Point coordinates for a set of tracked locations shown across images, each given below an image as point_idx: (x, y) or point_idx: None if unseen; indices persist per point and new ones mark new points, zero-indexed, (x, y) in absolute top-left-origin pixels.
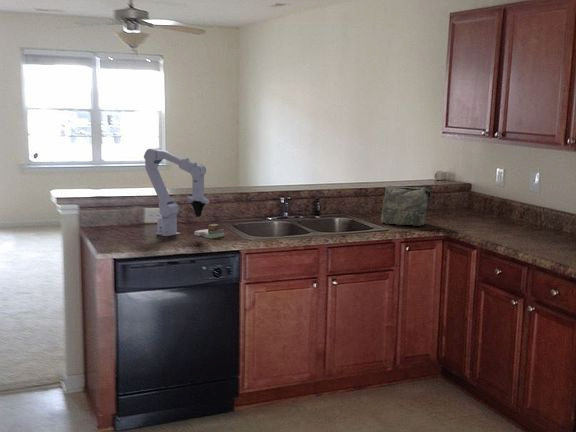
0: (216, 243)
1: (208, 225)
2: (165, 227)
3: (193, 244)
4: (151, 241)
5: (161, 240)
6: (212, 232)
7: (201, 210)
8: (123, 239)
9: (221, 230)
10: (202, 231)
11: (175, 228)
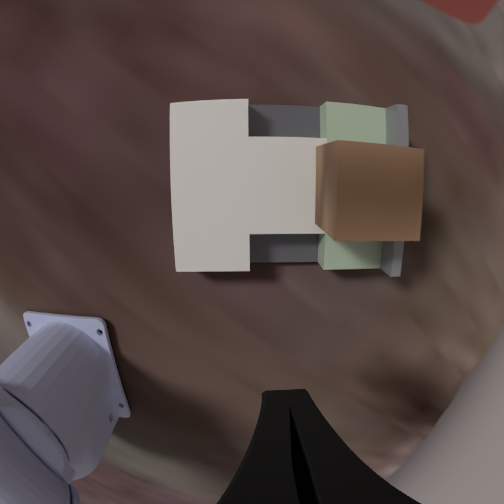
0: (473, 318)
1: (338, 239)
2: (103, 443)
3: (395, 416)
4: (201, 488)
5: (208, 466)
6: (398, 249)
7: (345, 456)
8: (115, 499)
9: (405, 137)
10: (234, 225)
11: (90, 375)
